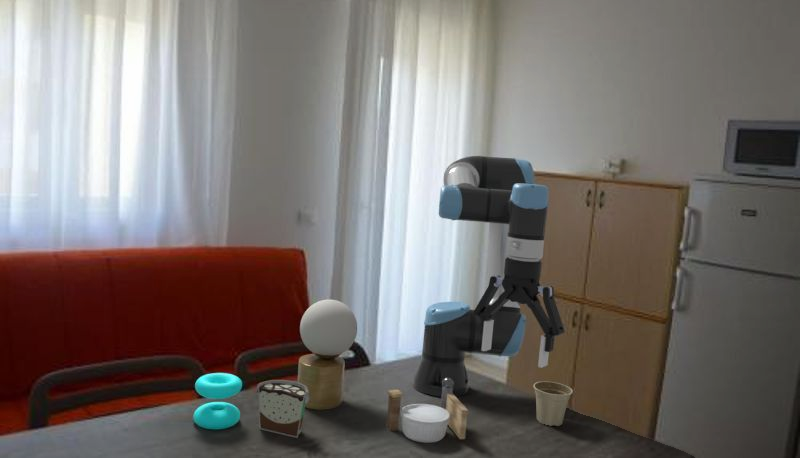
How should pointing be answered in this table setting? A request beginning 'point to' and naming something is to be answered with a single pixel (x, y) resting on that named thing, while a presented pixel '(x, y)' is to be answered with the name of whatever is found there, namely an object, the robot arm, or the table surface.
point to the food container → (282, 406)
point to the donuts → (217, 412)
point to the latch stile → (393, 409)
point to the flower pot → (551, 402)
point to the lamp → (325, 351)
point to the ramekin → (424, 422)
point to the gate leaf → (456, 415)
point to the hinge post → (446, 390)
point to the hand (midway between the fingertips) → (513, 357)
